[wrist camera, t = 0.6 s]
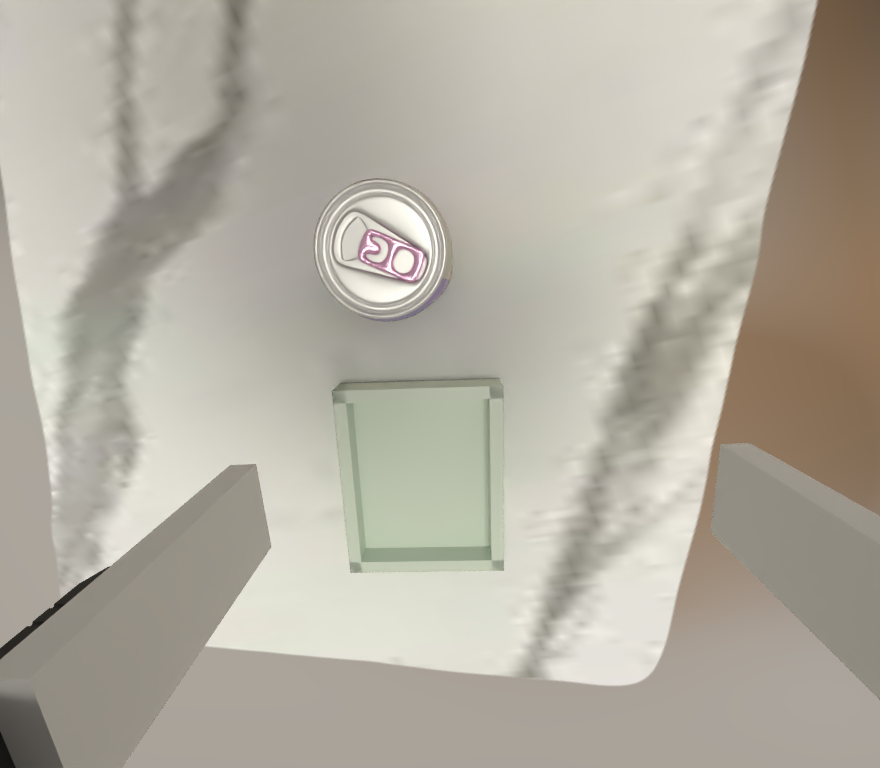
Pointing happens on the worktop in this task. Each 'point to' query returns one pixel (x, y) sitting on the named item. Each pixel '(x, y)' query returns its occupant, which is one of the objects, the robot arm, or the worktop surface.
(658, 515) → the worktop surface
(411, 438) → the tray
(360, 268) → the beverage can
